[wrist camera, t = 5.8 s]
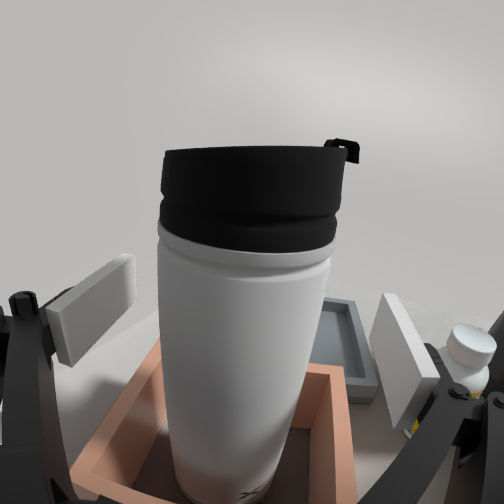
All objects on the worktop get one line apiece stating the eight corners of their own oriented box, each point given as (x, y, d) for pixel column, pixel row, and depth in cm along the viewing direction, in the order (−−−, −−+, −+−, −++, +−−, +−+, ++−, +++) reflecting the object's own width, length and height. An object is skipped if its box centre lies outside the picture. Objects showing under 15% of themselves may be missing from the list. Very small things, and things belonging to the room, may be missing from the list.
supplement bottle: (459, 425, 20) (509, 338, 17) (436, 460, 17) (498, 368, 14) (416, 399, 24) (456, 312, 21) (388, 429, 21) (434, 335, 18)
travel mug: (273, 520, 14) (387, 143, 7) (165, 502, 14) (129, 117, 7) (278, 447, 19) (342, 144, 13) (187, 433, 20) (193, 127, 13)
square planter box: (322, 421, 22) (342, 366, 20) (319, 568, 10) (358, 542, 8) (165, 393, 23) (160, 336, 21) (98, 520, 11) (64, 477, 9)
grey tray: (350, 316, 39) (354, 301, 38) (370, 403, 24) (378, 386, 23) (228, 298, 41) (229, 283, 40) (190, 379, 26) (190, 360, 25)
